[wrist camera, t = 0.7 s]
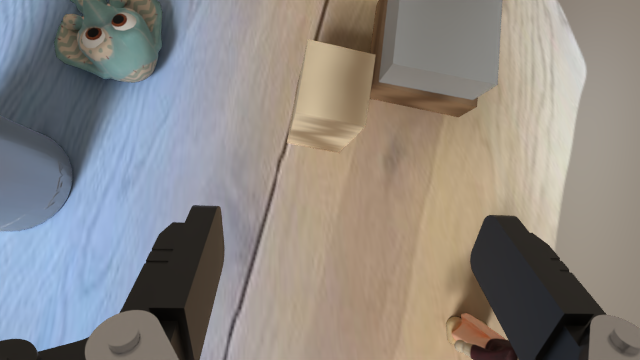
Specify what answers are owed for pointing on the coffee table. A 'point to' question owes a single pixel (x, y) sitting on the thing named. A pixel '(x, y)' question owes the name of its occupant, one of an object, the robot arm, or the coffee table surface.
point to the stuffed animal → (112, 38)
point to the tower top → (442, 46)
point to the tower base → (404, 94)
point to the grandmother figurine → (478, 339)
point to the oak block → (331, 97)
